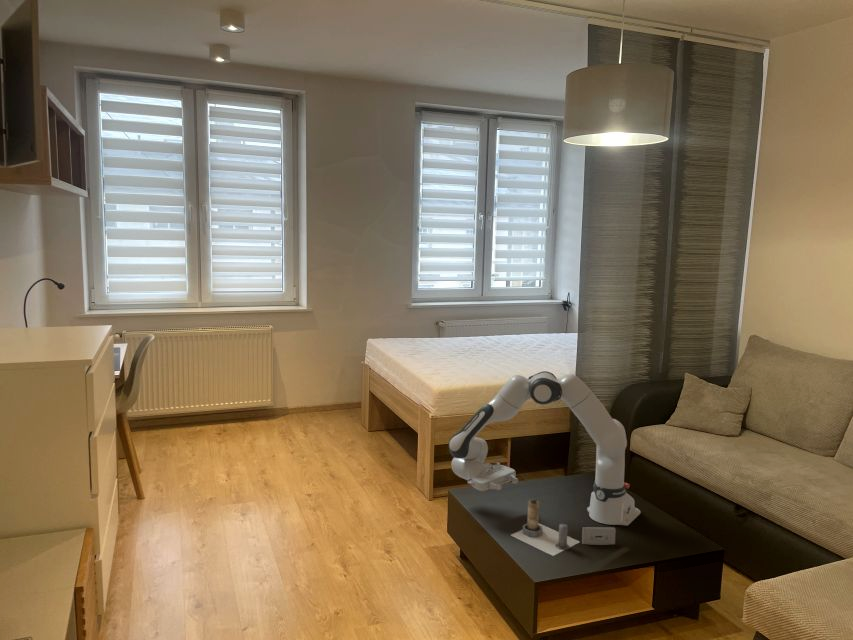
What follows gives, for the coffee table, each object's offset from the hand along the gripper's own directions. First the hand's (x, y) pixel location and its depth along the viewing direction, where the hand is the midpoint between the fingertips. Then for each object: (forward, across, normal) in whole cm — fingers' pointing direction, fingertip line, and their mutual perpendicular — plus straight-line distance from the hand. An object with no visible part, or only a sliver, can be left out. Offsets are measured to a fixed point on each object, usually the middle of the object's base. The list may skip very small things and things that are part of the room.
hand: (508, 484), depth 252 cm
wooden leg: (+13, -1, +15) cm, 20 cm away
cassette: (+34, +11, +17) cm, 39 cm away
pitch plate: (+19, -1, +16) cm, 25 cm away
